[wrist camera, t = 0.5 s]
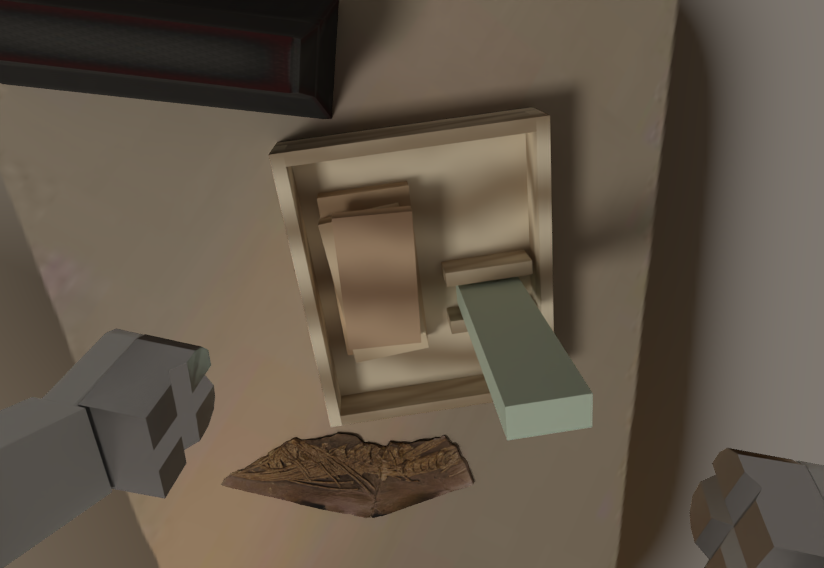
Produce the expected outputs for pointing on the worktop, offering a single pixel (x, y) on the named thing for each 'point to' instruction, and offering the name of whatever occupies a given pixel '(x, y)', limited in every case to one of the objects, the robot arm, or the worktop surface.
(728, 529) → the robot arm
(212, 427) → the worktop surface
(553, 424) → the sage green plank
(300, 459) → the wooden fragment
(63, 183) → the worktop surface
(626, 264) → the worktop surface
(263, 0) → the barrier
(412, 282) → the offcut stack
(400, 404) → the beige wooden tray
